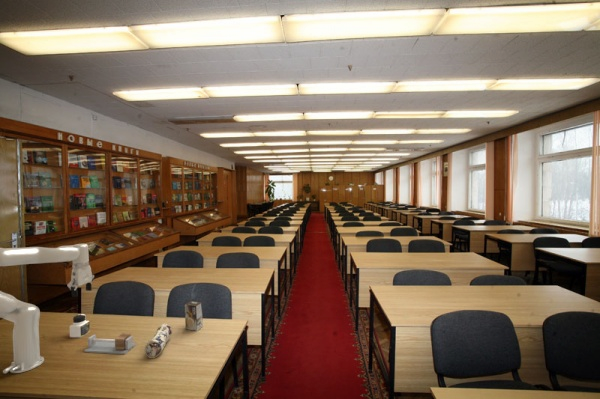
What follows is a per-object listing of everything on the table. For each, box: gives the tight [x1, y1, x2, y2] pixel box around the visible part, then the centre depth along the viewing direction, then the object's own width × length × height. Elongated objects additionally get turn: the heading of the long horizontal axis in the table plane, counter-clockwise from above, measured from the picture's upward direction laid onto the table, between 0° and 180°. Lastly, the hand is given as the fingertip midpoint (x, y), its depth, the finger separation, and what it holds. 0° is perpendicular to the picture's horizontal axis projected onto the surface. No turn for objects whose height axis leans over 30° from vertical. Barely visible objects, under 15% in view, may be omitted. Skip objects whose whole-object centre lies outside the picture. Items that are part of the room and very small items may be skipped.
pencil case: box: [144, 322, 173, 359], centre depth 161 cm, size 22×8×10 cm, turn 9°
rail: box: [83, 334, 137, 355], centre depth 160 cm, size 9×24×6 cm, turn 85°
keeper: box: [114, 332, 132, 350], centre depth 159 cm, size 6×5×6 cm
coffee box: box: [184, 300, 204, 332], centre depth 183 cm, size 9×6×16 cm
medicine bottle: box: [68, 313, 91, 338], centre depth 175 cm, size 7×7×12 cm
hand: (81, 293), depth 168 cm, fingers open, 9 cm apart
